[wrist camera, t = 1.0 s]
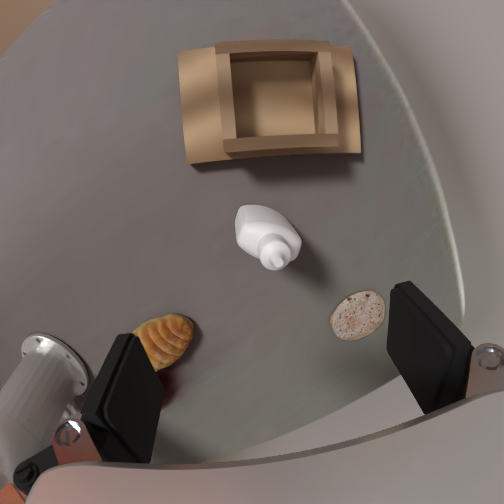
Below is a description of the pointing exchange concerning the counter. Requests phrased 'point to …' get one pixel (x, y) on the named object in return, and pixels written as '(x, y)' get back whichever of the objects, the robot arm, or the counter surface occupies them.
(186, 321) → the pastry
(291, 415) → the counter surface
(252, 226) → the eye dropper bottle
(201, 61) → the holder stand
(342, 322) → the flatbread
